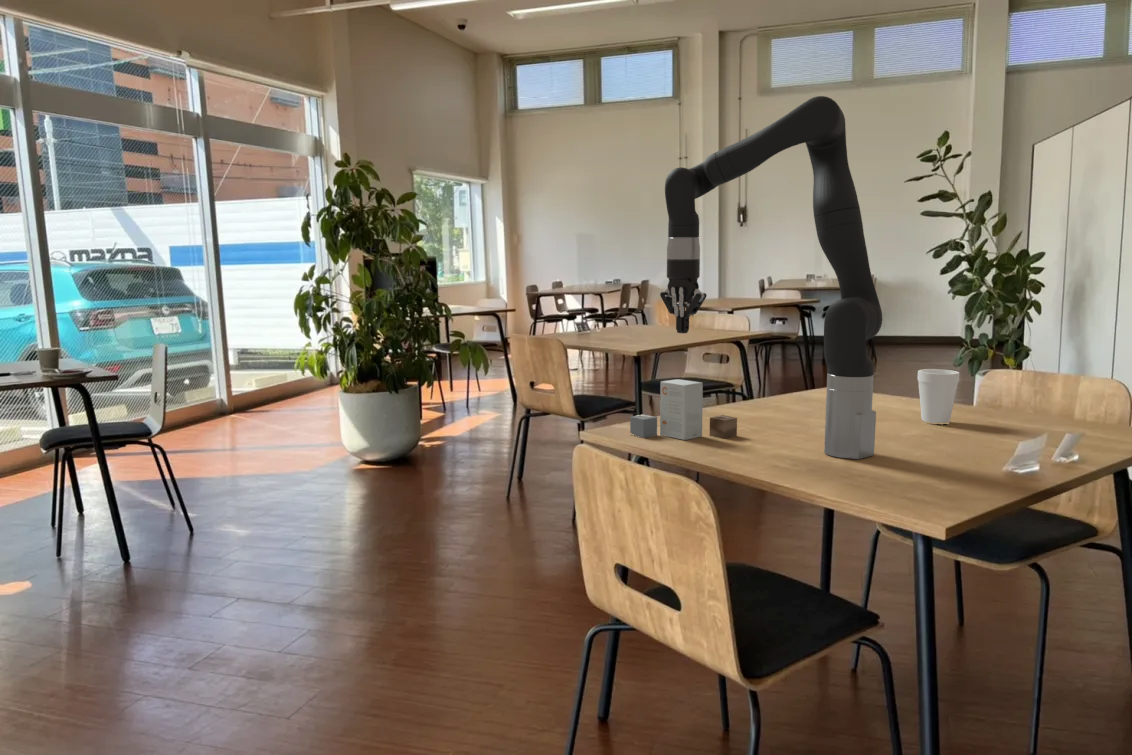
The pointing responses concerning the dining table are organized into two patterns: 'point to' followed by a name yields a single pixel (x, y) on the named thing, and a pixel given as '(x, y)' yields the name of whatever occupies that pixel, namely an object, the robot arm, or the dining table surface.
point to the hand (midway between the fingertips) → (682, 332)
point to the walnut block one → (723, 426)
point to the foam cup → (937, 394)
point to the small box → (681, 409)
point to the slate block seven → (643, 425)
